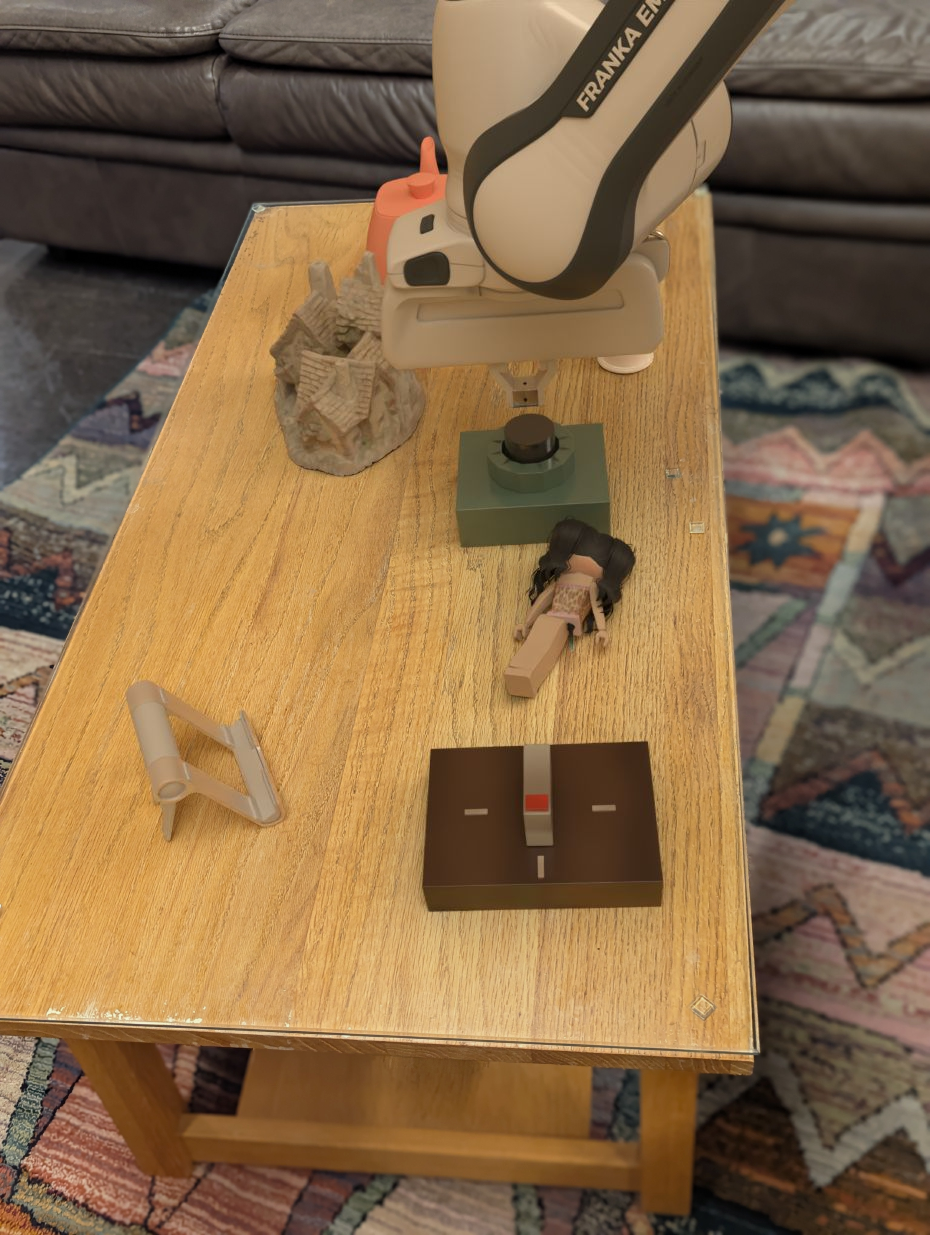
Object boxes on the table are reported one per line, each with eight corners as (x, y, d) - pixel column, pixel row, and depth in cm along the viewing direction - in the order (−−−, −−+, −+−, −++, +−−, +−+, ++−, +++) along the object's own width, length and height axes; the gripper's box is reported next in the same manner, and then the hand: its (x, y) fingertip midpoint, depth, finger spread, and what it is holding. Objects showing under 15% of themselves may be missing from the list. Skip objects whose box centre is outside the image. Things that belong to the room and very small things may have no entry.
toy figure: (595, 715, 75) (644, 560, 83) (581, 658, 70) (635, 501, 79) (498, 702, 77) (556, 553, 86) (479, 646, 73) (542, 495, 82)
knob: (554, 432, 87) (554, 411, 85) (556, 463, 84) (555, 442, 83) (505, 435, 87) (503, 414, 86) (505, 466, 85) (503, 446, 83)
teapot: (498, 234, 121) (489, 124, 113) (496, 332, 108) (486, 216, 99) (381, 243, 123) (363, 136, 114) (365, 341, 109) (343, 228, 100)
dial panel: (646, 767, 71) (648, 739, 69) (661, 906, 64) (663, 880, 62) (435, 774, 72) (430, 746, 70) (428, 912, 65) (421, 886, 63)
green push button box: (602, 460, 93) (602, 402, 88) (610, 539, 86) (610, 481, 82) (464, 468, 94) (457, 411, 89) (460, 547, 87) (452, 490, 83)
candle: (653, 341, 104) (657, 224, 95) (654, 373, 100) (658, 255, 92) (597, 343, 105) (596, 226, 96) (596, 375, 101) (595, 257, 92)
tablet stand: (288, 819, 71) (258, 744, 65) (173, 868, 69) (130, 796, 63) (252, 726, 76) (221, 649, 70) (145, 770, 75) (103, 694, 69)
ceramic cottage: (325, 347, 109) (291, 211, 97) (458, 396, 102) (439, 256, 90) (222, 440, 101) (172, 305, 90) (358, 501, 94) (323, 363, 83)
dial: (526, 776, 68) (523, 741, 65) (552, 776, 68) (549, 740, 65) (526, 846, 64) (522, 812, 62) (553, 846, 64) (550, 811, 61)
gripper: (667, 199, 74) (659, 370, 84) (371, 222, 75) (398, 386, 86) (676, 245, 69) (667, 419, 79) (363, 268, 71) (393, 436, 81)
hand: (526, 402), depth 83 cm, fingers closed
